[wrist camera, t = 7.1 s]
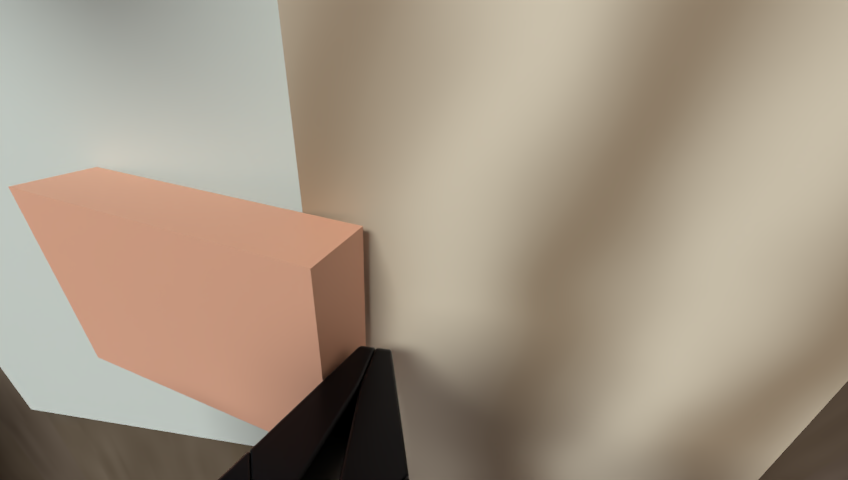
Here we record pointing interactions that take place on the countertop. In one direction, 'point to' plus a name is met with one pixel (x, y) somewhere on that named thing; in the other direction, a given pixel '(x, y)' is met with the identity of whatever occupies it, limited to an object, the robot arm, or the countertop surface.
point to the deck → (587, 223)
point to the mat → (130, 166)
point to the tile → (203, 286)
